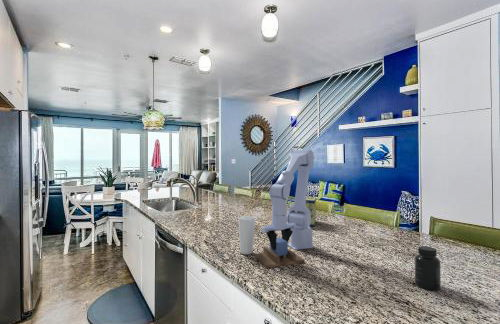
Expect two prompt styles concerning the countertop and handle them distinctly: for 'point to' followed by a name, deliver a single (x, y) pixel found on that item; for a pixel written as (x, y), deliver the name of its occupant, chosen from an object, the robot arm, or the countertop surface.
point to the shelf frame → (278, 258)
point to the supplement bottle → (427, 269)
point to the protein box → (311, 209)
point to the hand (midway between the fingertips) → (279, 248)
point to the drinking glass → (246, 234)
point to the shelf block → (280, 247)
